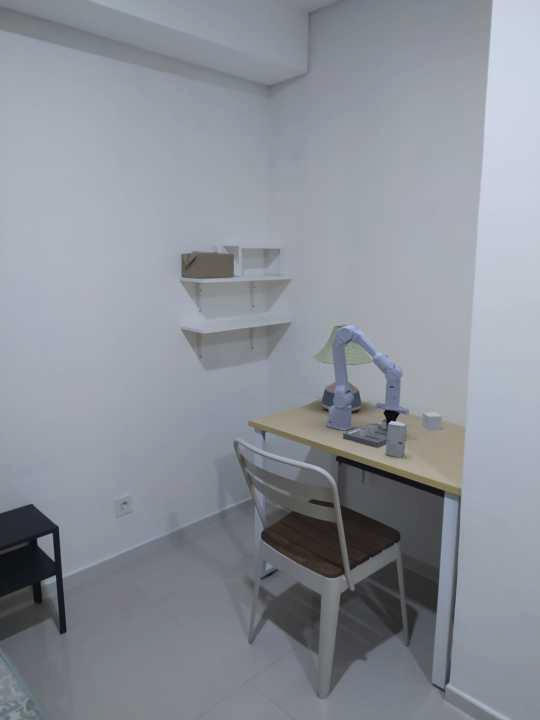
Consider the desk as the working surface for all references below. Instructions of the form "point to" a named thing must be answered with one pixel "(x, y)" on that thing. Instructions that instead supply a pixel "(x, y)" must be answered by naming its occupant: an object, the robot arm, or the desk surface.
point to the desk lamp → (353, 357)
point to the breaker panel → (368, 435)
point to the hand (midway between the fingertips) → (390, 428)
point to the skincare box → (396, 439)
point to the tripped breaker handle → (384, 424)
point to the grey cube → (432, 421)
